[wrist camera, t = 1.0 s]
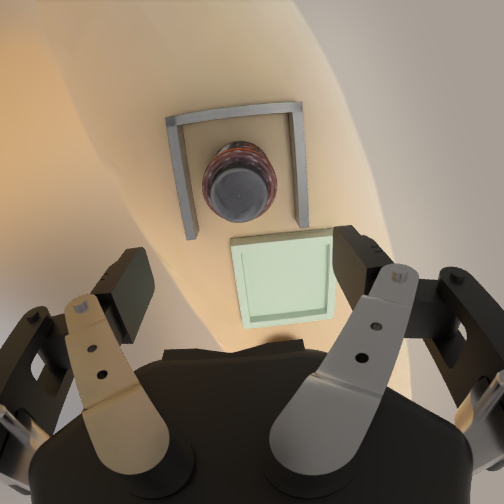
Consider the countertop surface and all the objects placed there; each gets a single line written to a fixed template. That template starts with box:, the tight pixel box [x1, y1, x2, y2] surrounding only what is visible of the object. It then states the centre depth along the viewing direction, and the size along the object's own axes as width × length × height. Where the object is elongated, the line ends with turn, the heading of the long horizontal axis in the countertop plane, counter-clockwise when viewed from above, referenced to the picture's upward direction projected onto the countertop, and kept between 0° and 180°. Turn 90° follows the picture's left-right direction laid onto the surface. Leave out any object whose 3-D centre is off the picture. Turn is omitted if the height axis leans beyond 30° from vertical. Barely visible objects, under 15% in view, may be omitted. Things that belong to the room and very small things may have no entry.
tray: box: [231, 228, 337, 329], centre depth 35 cm, size 12×12×2 cm
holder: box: [165, 102, 309, 240], centre depth 29 cm, size 13×13×2 cm
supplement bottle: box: [202, 141, 277, 223], centre depth 25 cm, size 6×6×11 cm
